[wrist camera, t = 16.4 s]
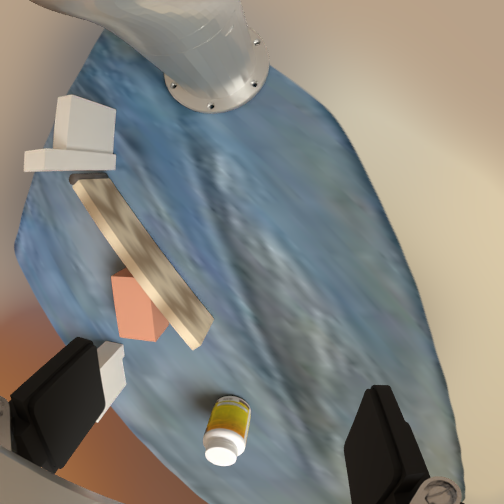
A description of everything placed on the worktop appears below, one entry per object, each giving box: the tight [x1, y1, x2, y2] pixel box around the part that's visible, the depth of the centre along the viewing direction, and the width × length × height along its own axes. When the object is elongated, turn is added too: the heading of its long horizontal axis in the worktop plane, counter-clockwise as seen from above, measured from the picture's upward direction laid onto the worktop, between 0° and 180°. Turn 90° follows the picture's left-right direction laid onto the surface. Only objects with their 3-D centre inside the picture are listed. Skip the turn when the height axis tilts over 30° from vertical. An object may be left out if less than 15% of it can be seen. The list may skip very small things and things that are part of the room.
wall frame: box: [24, 95, 126, 422], centre depth 33 cm, size 40×3×14 cm, turn 177°
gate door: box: [69, 173, 214, 350], centre depth 35 cm, size 24×1×7 cm, turn 37°
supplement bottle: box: [203, 396, 251, 466], centre depth 38 cm, size 6×6×10 cm
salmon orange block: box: [111, 267, 169, 342], centre depth 38 cm, size 8×5×5 cm, turn 0°
